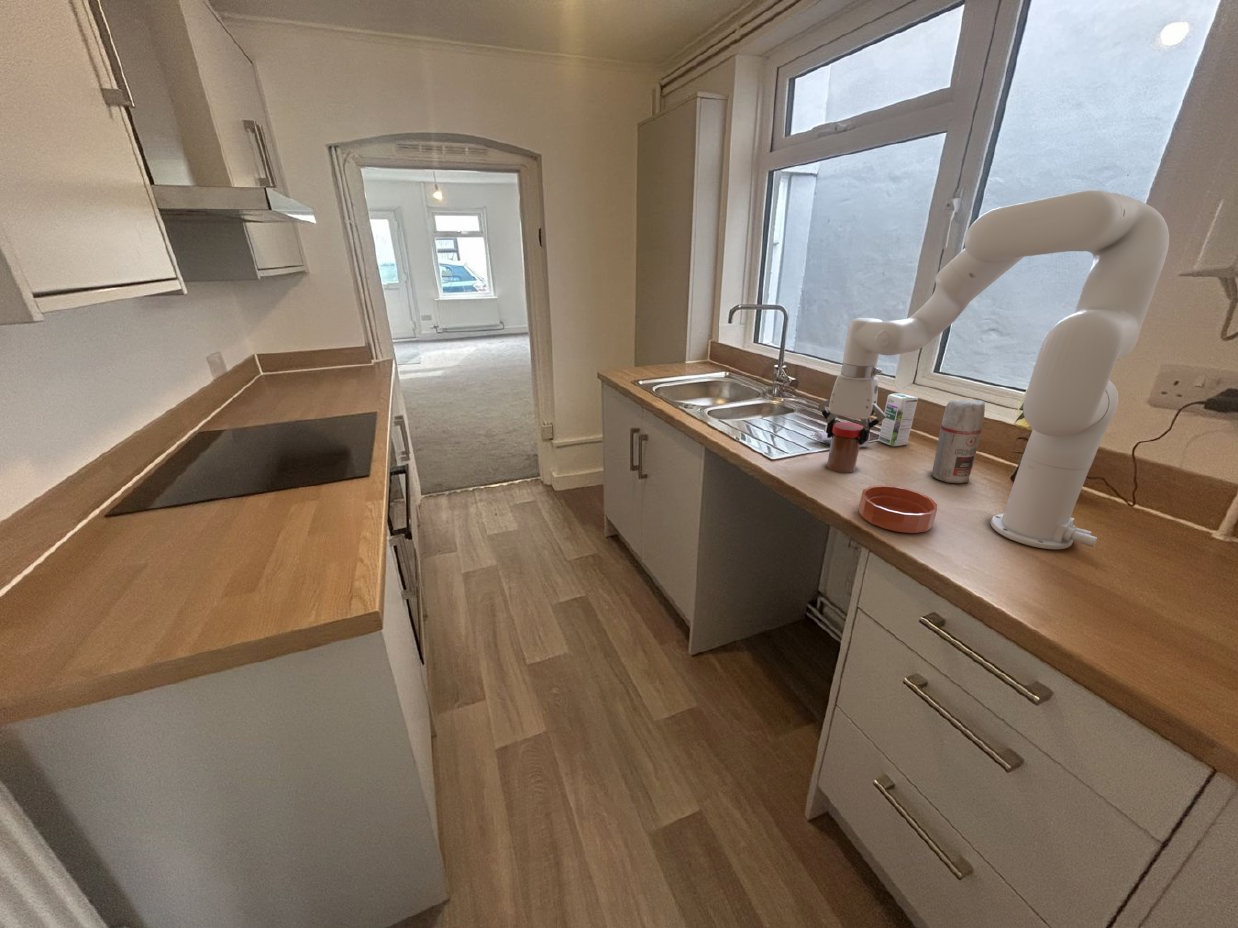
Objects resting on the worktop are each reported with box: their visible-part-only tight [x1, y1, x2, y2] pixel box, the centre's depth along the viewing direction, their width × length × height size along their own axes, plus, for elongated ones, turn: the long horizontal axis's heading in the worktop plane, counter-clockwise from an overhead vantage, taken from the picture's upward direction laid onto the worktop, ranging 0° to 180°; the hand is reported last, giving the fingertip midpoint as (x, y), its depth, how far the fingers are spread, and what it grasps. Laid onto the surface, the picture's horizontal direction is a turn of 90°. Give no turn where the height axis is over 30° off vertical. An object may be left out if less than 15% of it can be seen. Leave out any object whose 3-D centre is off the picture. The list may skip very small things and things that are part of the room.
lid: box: [832, 421, 863, 438], centre depth 123 cm, size 7×7×2 cm
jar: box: [826, 433, 861, 474], centre depth 125 cm, size 7×7×11 cm
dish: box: [858, 485, 938, 534], centre depth 100 cm, size 14×14×4 cm
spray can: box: [930, 399, 986, 484], centre depth 116 cm, size 8×8×20 cm
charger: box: [810, 425, 871, 448], centre depth 143 cm, size 5×9×15 cm
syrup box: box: [878, 392, 919, 447], centre depth 141 cm, size 6×6×14 cm
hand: (845, 439), depth 124 cm, fingers closed on lid, 7 cm apart
